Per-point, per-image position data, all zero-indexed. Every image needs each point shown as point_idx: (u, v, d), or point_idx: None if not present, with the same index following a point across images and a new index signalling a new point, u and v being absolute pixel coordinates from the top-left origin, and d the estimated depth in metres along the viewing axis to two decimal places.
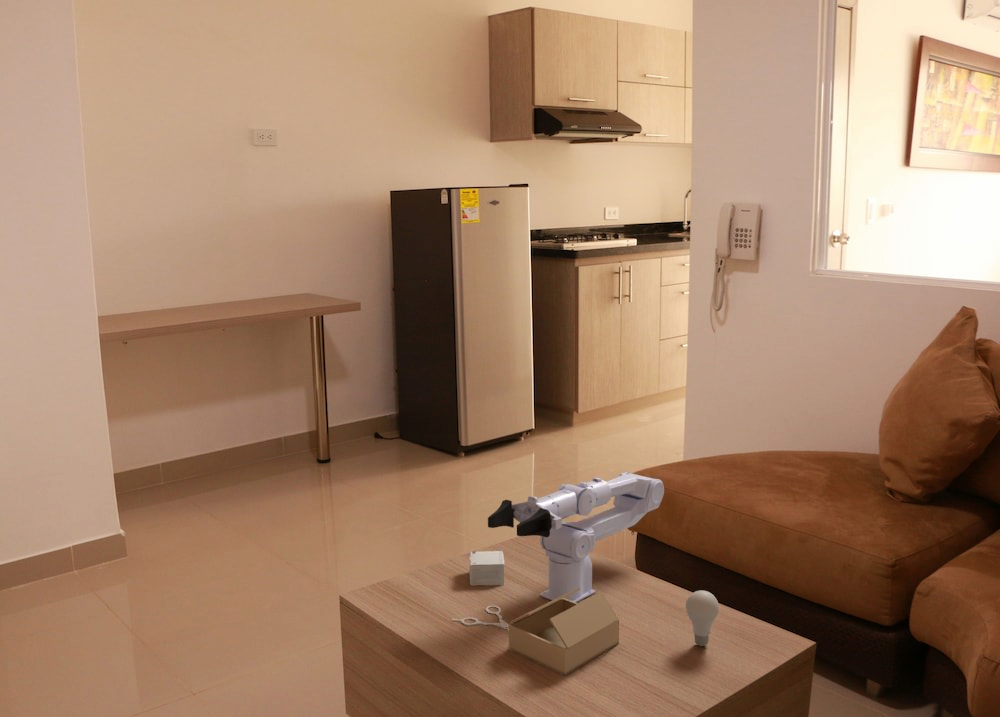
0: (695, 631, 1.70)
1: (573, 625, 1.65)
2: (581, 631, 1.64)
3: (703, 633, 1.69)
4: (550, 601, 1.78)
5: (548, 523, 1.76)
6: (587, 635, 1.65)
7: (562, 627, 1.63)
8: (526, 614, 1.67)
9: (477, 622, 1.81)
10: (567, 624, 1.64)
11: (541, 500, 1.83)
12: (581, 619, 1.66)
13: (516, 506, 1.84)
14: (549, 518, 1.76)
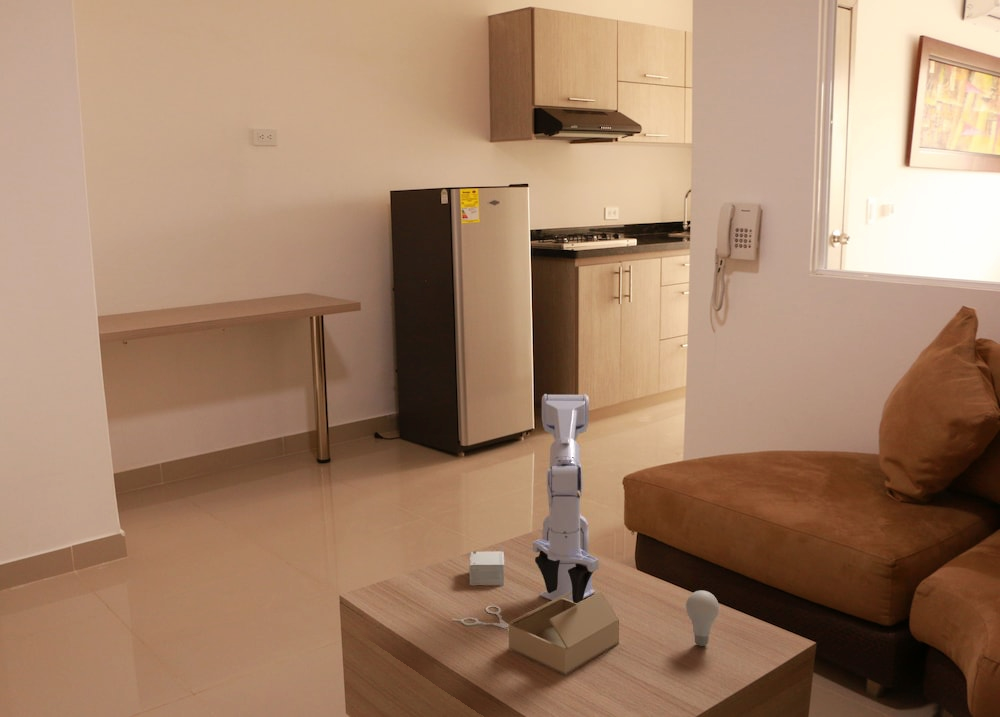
0: (695, 631, 1.70)
1: (573, 625, 1.65)
2: (581, 631, 1.64)
3: (703, 633, 1.69)
4: (550, 601, 1.78)
5: (586, 572, 1.65)
6: (587, 635, 1.65)
7: (562, 627, 1.63)
8: (526, 614, 1.67)
9: (477, 622, 1.81)
10: (567, 624, 1.64)
11: (557, 546, 1.65)
12: (581, 619, 1.66)
13: None
14: (583, 572, 1.64)
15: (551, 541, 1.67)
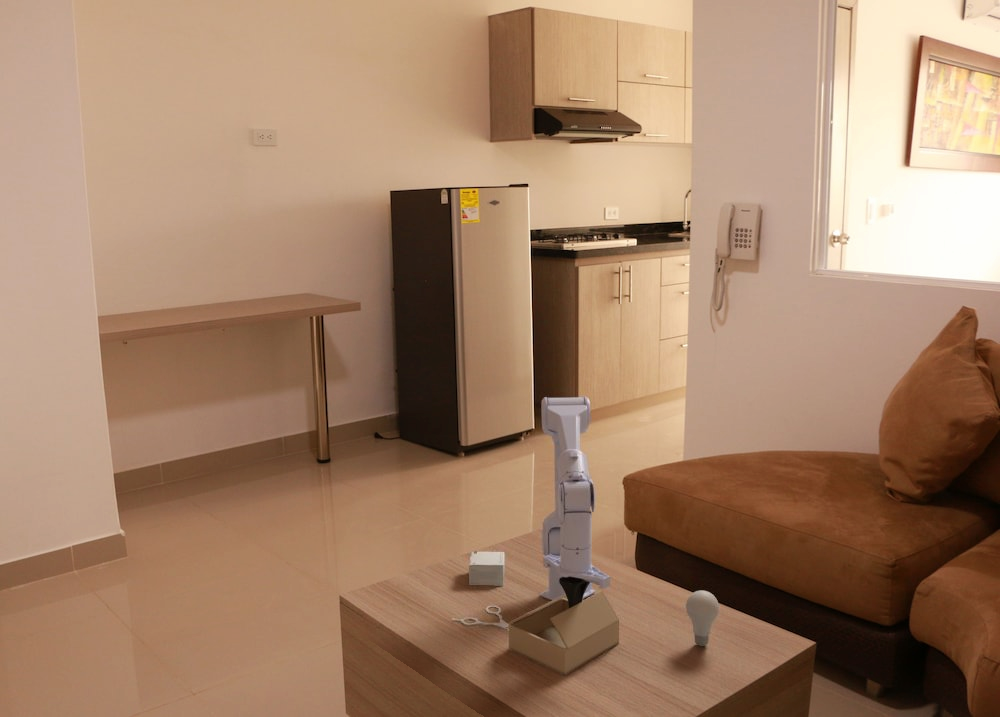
0: (695, 631, 1.70)
1: (574, 624, 1.64)
2: (581, 631, 1.64)
3: (703, 633, 1.69)
4: (550, 601, 1.78)
5: (583, 583, 1.66)
6: (587, 635, 1.65)
7: (563, 627, 1.63)
8: (526, 614, 1.67)
9: (477, 622, 1.81)
10: (568, 624, 1.64)
11: (568, 562, 1.64)
12: (582, 619, 1.66)
13: None
14: (580, 583, 1.65)
15: (562, 557, 1.65)
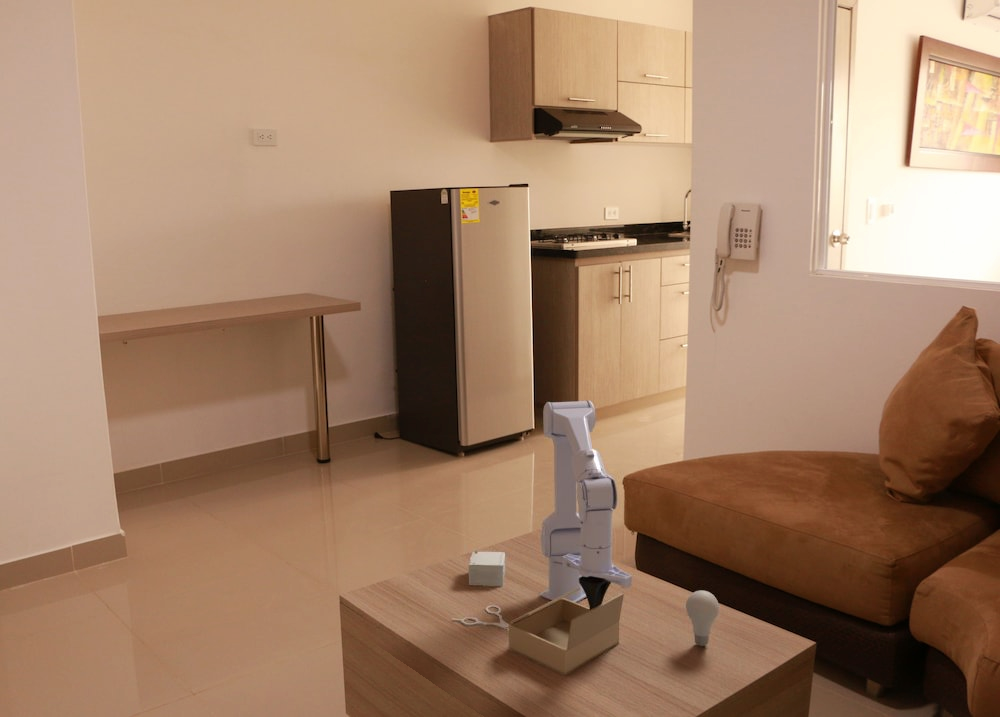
0: (695, 631, 1.70)
1: (585, 627, 1.62)
2: (586, 633, 1.64)
3: (703, 633, 1.69)
4: (550, 601, 1.78)
5: (604, 583, 1.62)
6: (588, 637, 1.64)
7: (576, 630, 1.61)
8: (526, 614, 1.67)
9: (477, 622, 1.81)
10: (581, 626, 1.61)
11: (589, 562, 1.60)
12: (594, 621, 1.64)
13: None
14: (601, 583, 1.61)
15: (582, 556, 1.62)
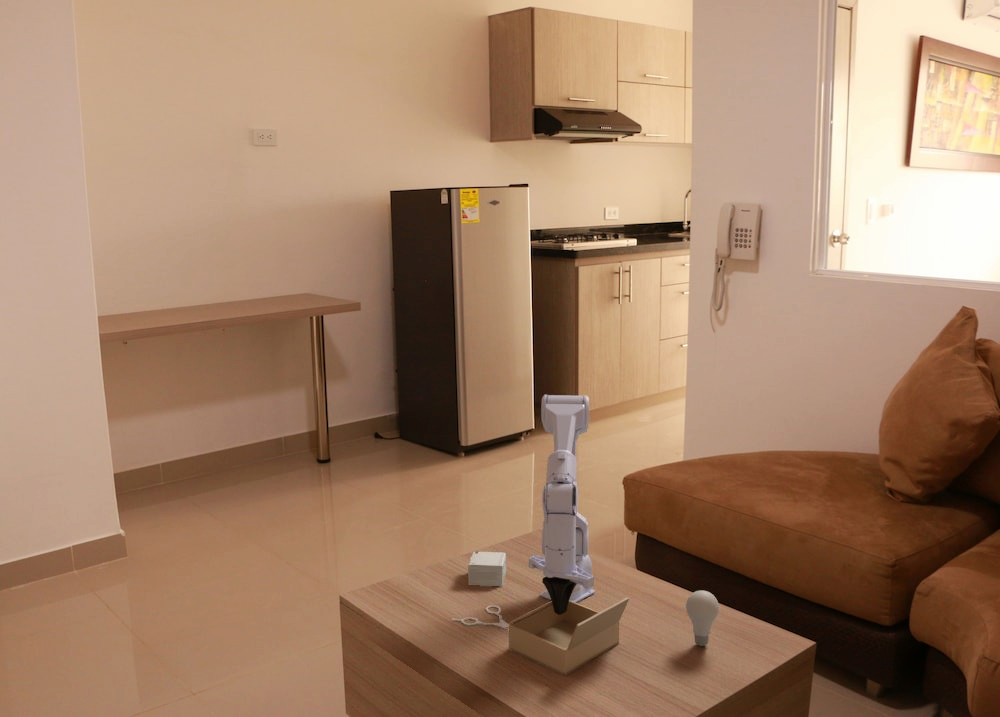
0: (695, 631, 1.70)
1: (588, 630, 1.62)
2: (588, 635, 1.63)
3: (703, 633, 1.69)
4: (550, 601, 1.78)
5: (569, 584, 1.68)
6: (589, 638, 1.64)
7: (579, 633, 1.60)
8: (526, 614, 1.67)
9: (477, 622, 1.81)
10: (584, 629, 1.61)
11: (553, 563, 1.67)
12: (597, 624, 1.64)
13: None
14: (566, 585, 1.67)
15: (547, 558, 1.68)
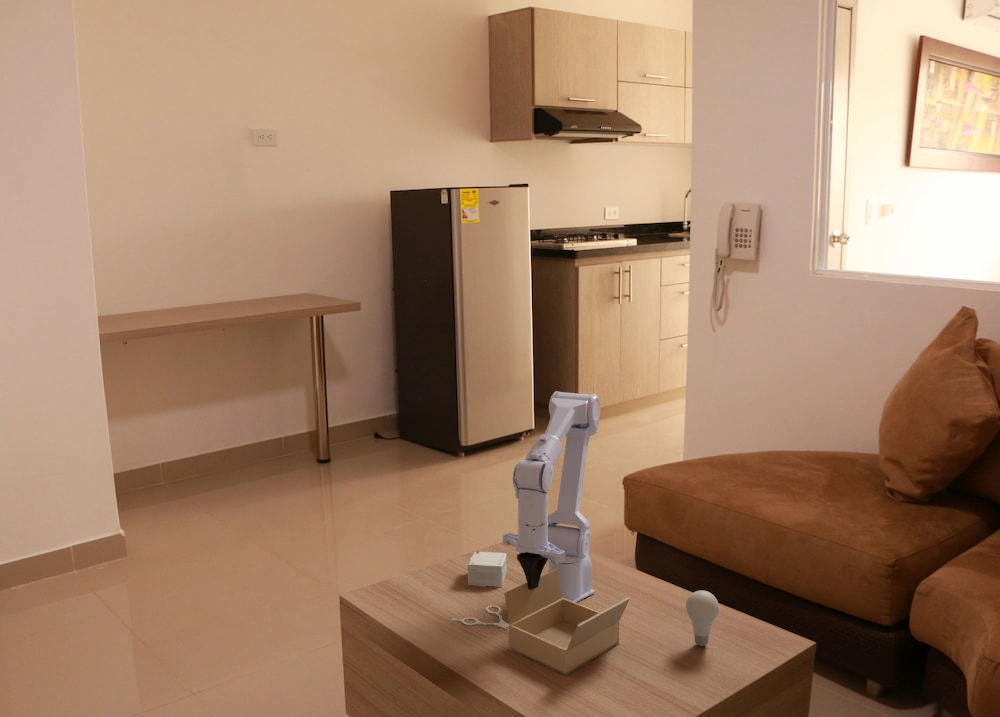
0: (695, 631, 1.70)
1: (588, 630, 1.62)
2: (588, 635, 1.63)
3: (703, 633, 1.69)
4: None
5: (540, 559, 1.72)
6: (589, 638, 1.64)
7: (579, 633, 1.60)
8: None
9: (477, 622, 1.81)
10: (585, 630, 1.61)
11: (525, 539, 1.71)
12: (597, 624, 1.64)
13: None
14: (537, 559, 1.71)
15: (520, 534, 1.72)
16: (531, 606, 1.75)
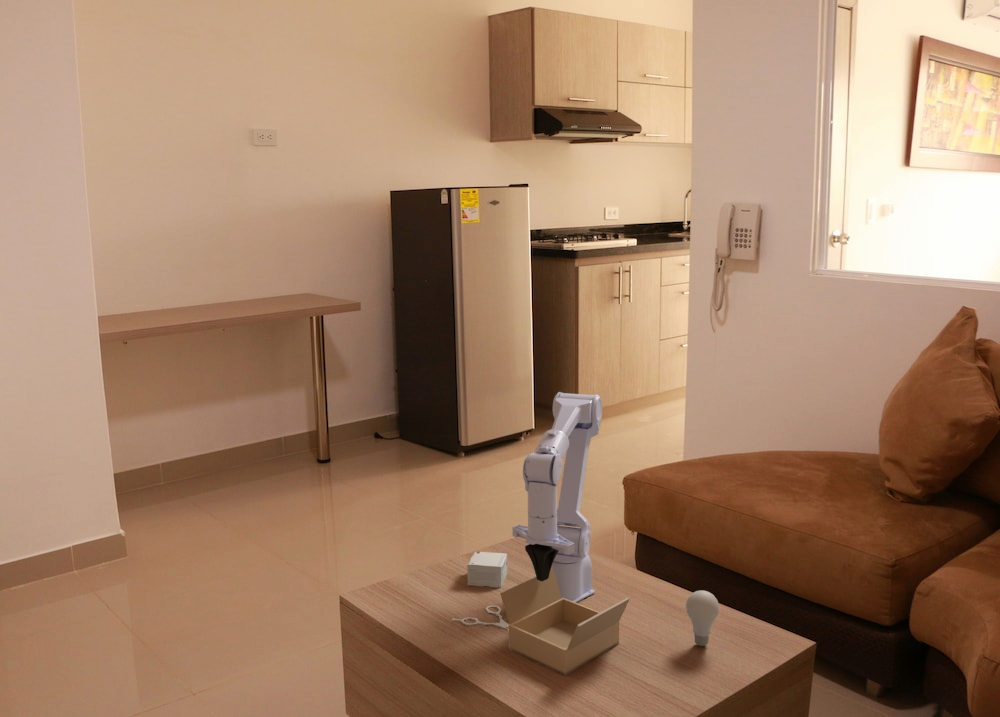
0: (695, 631, 1.70)
1: (588, 630, 1.62)
2: (588, 635, 1.63)
3: (703, 633, 1.69)
4: None
5: (551, 551, 1.74)
6: (589, 638, 1.64)
7: (579, 633, 1.60)
8: (501, 596, 1.71)
9: (477, 622, 1.81)
10: (585, 630, 1.61)
11: (535, 530, 1.73)
12: (597, 624, 1.64)
13: None
14: (548, 552, 1.74)
15: (529, 526, 1.74)
16: (530, 606, 1.75)
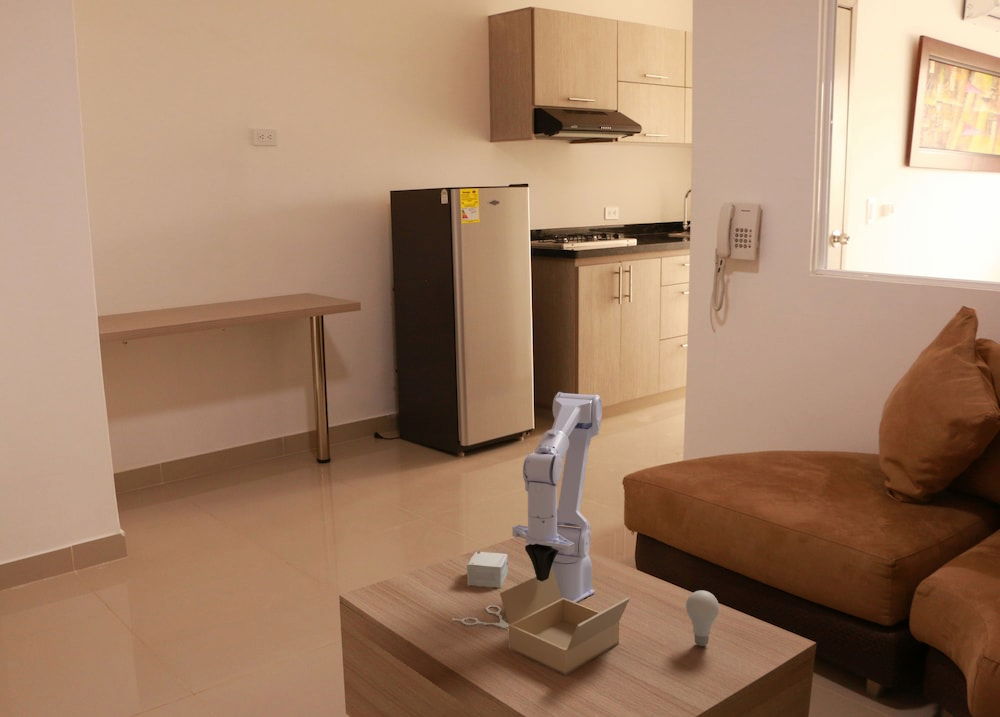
0: (695, 631, 1.70)
1: (588, 630, 1.62)
2: (588, 635, 1.63)
3: (703, 633, 1.69)
4: None
5: (551, 551, 1.74)
6: (589, 638, 1.64)
7: (579, 633, 1.60)
8: None
9: (477, 622, 1.81)
10: (585, 630, 1.61)
11: (535, 530, 1.73)
12: (597, 624, 1.64)
13: None
14: (548, 552, 1.74)
15: (529, 526, 1.74)
16: (530, 606, 1.75)
